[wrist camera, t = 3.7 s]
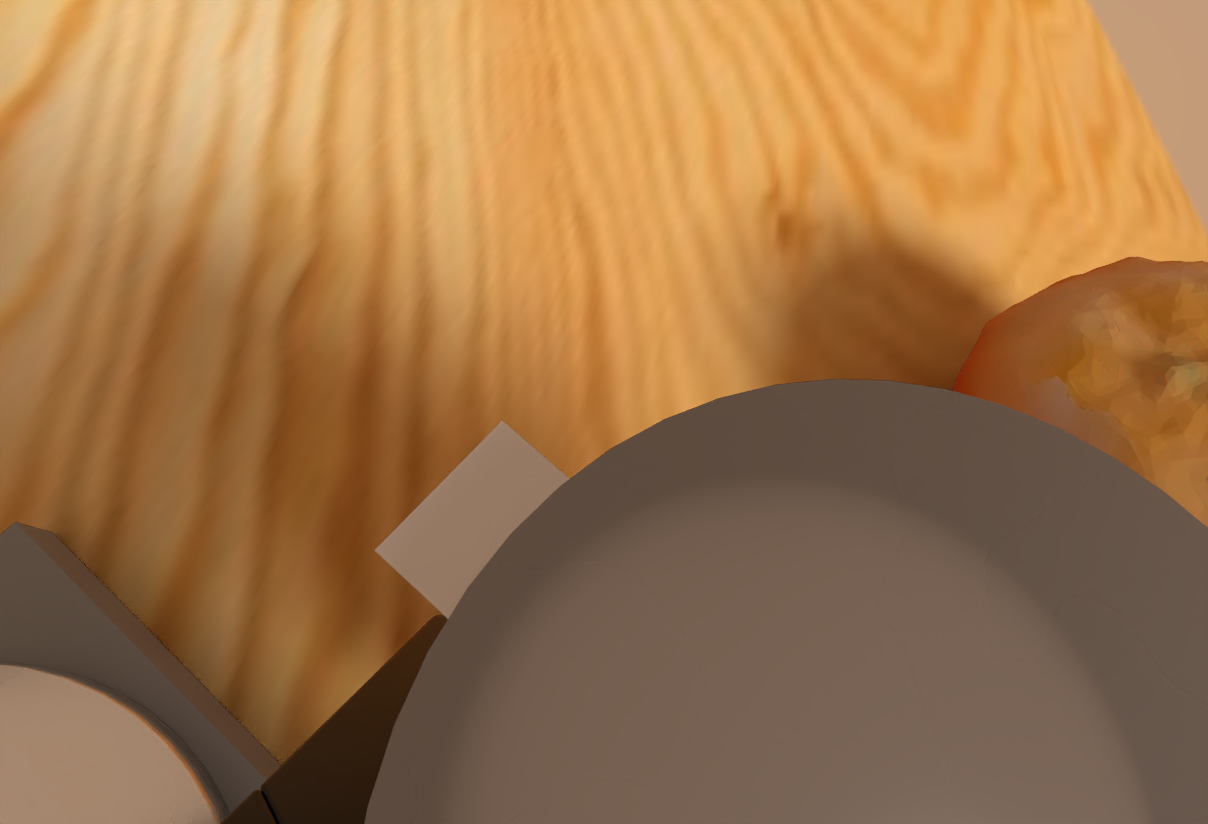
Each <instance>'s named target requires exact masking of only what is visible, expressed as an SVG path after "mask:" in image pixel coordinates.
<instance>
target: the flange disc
mask: <svg viewBox="0 0 1208 824" xmlns="http://www.w3.org/2000/svg"><path fill="white" fill-rule="evenodd" d="M229 814H230V811H229V809H228V807H227V804H226V802H225V800H224V798H223V796H222V795H221V793H220V791H219V789H218V788H217V786H216V784H215V783H214V781H213V779H212V778H211V776H210V774H209V772H208V771H207V769H206V767H205V766H204V765H203V764H202V762H201V761H200V760H199V759H198V757H197V756H196V755H195V754H194V753H193V751H192V750H191V749H190V748H189V746H188V745H187V744H186V743H185V742H184V740H183V739H182V738H181V737H180V736H179V735H178V734H177V733H176V732H174V731H173V730H172V729H171V728H170V727H169V726H168V725H167V724H165V723H164V722H163V721H162V720H161V719H160V718H159V717H158V716H156V715H155V714H154V713H153V712H151V711H150V710H148V709H147V708H145V707H144V706H142V705H140V704H139V703H137V702H136V701H134V700H133V699H131V698H129V697H128V696H126V695H125V694H123V693H122V692H119V691H117V690H115V689H112V688H110V687H108V686H106V685H103V684H101V683H99V682H96V681H94V680H92V679H89V678H87V677H83V676H80V675H76V674H72V673H68V672H65V671H61V670H57V669H53V668H49V667H41V666H32V665H24V664H16V663H0V824H220V823H221V822H222V821H223V820H224V819H225V818H226V817H227V816H228V815H229Z"/></svg>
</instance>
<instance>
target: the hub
mask: <svg viewBox="0 0 1208 824" xmlns="http://www.w3.org/2000/svg"><path fill="white" fill-rule="evenodd" d="M374 551H376V552H377V553H378V554H379V555H380V556H381V557H382V558H383V559H384V560H385V561H386V562H387V563H388V564H389V565H391V566H392V567H393V568H394V569H395V570H396V571H397V572H398V573H399V574H400V575H401V576H402V577H403V578H404V579H406V580H407V581H408V582H409V583H410V584H411V585H412V586H413V587H414V588H415V589H416V590H417V591H418V592H419V593H421V594H422V595H423V596H424V597H425V598H426V599H427V600H428V601H429V602H430V603H431V604H432V605H433V606H434V607H436V608H437V609H438V610H439V611H440V612H441V613H442V614H443V615H444V616H445V617H446V618H447V619H448V620H447V622H446V623H445V625H444V627H443V628H442V630H441V632H440V633H439V635H438V636H437V638H436V640H435V641H434V643H433V644H432V646H431V648H430V649H429V651H428V653H427V655H426V657H425V659H424V662H423V664H422V666H421V668H420V670H419V672H418V675H417V677H416V679H415V681H414V683H413V685H412V688H411V690H410V692H409V694H408V696H407V698H406V701H405V703H404V705H403V707H402V709H401V711H400V714H399V716H398V718H397V720H396V722H395V724H394V727H393V730H392V734H391V737H390V740H389V743H388V746H387V749H386V752H385V755H384V758H383V761H382V764H381V767H380V770H379V774H378V777H377V780H376V783H375V786H374V789H373V792H372V795H371V798H370V801H369V804H368V808H367V813H366V818H365V822H364V824H1208V528H1207V527H1206V526H1205V525H1204V524H1203V523H1201V522H1200V521H1199V520H1198V519H1197V518H1195V517H1194V516H1193V515H1192V514H1191V513H1189V512H1188V511H1187V510H1186V509H1185V508H1183V507H1182V506H1181V505H1180V504H1179V503H1177V502H1176V501H1175V500H1174V499H1173V498H1171V497H1170V496H1169V495H1168V494H1167V493H1165V492H1164V491H1163V490H1161V489H1160V488H1158V487H1157V486H1155V485H1154V484H1152V483H1151V482H1149V481H1148V480H1146V479H1145V478H1143V477H1142V476H1140V475H1139V474H1138V473H1136V472H1135V471H1133V470H1132V469H1130V468H1129V467H1127V466H1126V465H1124V464H1123V463H1121V462H1120V461H1118V460H1117V459H1115V458H1114V457H1112V456H1111V455H1109V454H1107V453H1105V452H1103V451H1101V450H1100V449H1098V448H1096V447H1094V446H1092V445H1090V444H1088V443H1086V442H1085V441H1083V440H1081V439H1079V438H1077V437H1075V436H1073V435H1072V434H1070V433H1068V432H1066V431H1064V430H1062V429H1060V428H1058V427H1056V426H1054V425H1051V424H1049V423H1046V422H1044V421H1041V420H1039V419H1036V418H1034V417H1032V416H1029V415H1027V414H1024V413H1022V412H1019V411H1017V410H1014V409H1012V408H1009V407H1007V406H1004V405H1002V404H998V403H994V402H991V401H987V400H984V399H980V398H976V397H973V396H969V395H965V394H962V393H958V392H955V391H951V390H947V389H942V388H936V387H929V386H922V385H916V384H909V383H902V382H896V381H889V380H853V379H827V380H817V381H807V382H797V383H788V384H778V385H772V386H768V387H764V388H760V389H755V390H751V391H747V392H743V393H739V394H734V395H730V396H726V397H722V398H718V399H716V400H713V401H710V402H708V403H705V404H703V405H700V406H698V407H695V408H692V409H690V410H687V411H685V412H682V413H679V414H677V415H674V416H672V417H669V418H666V419H664V420H662V421H660V422H658V423H657V424H655V425H653V426H651V427H649V428H648V429H646V430H644V431H642V432H640V433H638V434H637V435H635V436H633V437H631V438H629V439H627V440H626V441H624V442H622V443H620V444H618V445H617V446H615V447H613V448H611V449H610V450H608V451H607V452H606V453H604V454H603V455H602V456H600V457H599V458H597V459H596V460H595V461H593V462H592V463H591V464H589V465H588V466H587V467H585V468H584V469H583V470H581V471H580V472H579V473H577V474H576V475H574V476H573V477H572V478H570V479H569V478H568V477H567V476H566V475H565V474H564V473H562V472H561V471H560V470H559V469H558V468H557V467H556V466H554V465H553V464H552V463H551V462H550V461H549V460H547V459H546V458H545V457H544V456H543V455H542V454H541V453H539V452H538V451H537V450H536V449H535V448H534V447H532V446H531V445H530V444H529V443H528V442H527V441H526V440H524V439H523V438H522V437H521V436H520V435H519V434H518V433H516V432H515V431H514V430H513V429H512V428H511V427H509V426H508V425H507V424H506V423H505V422H504V421H503V420H502V421H501V422H500V423H499V424H498V425H497V426H496V427H495V428H494V429H493V430H492V431H491V432H490V433H489V434H488V435H487V436H486V437H485V438H484V439H483V440H482V441H481V443H480V444H479V445H478V446H477V447H476V448H475V449H474V450H473V451H472V452H471V453H470V454H469V455H468V456H467V457H466V458H465V459H464V460H463V461H462V462H461V463H460V464H459V465H458V466H457V467H456V468H455V469H454V470H453V471H452V472H451V473H450V474H449V475H448V476H447V477H446V478H445V479H444V480H443V481H442V482H441V483H440V484H439V485H438V486H437V487H436V488H435V489H434V490H433V491H432V492H431V493H430V494H429V495H428V496H427V497H426V498H425V499H424V500H423V501H422V502H421V503H420V504H419V505H418V507H417V508H416V509H415V510H414V511H413V512H412V513H411V514H410V515H409V516H408V517H407V518H406V519H405V520H404V521H403V522H402V523H401V524H400V525H399V526H398V527H397V528H396V529H395V530H394V531H393V532H392V533H391V534H390V535H389V536H388V537H387V538H386V539H385V540H384V541H383V542H382V543H381V544H380V545H379V546H378V547H377V548H376V549H375V550H374Z"/></svg>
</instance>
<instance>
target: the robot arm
mask: <svg viewBox="0 0 1208 824" xmlns="http://www.w3.org/2000/svg"><path fill="white" fill-rule="evenodd" d="M447 620H448V619H447V618H446V617H445V616H444V615H436V616H434V617H433V618H431V619H430V620H429V621H428V622H427V623H426V624H425V625H424V626H423V627H422V628H421V629H420V630H419V631H418V632H417V633H416V634H415V635H414V636H413V637H412V638H411V639H410V640H409V641H408V642H407V643H406V644H405V645H404V646H403V647H402V648H401V649H400V650H399V651H398V652H397V653H396V654H395V655H394V656H393V657H392V658H391V659H390V660H388V661H387V662H386V663H385V664H384V665H383V666H382V667H381V668H380V669H379V670H378V671H377V672H376V673H375V674H374V675H373V676H372V677H371V678H370V679H369V680H368V681H367V682H366V683H365V684H364V685H363V686H362V687H361V688H360V689H359V690H358V691H357V692H356V693H355V694H354V695H353V696H352V697H351V698H350V699H349V700H348V701H347V702H346V703H344V704H343V705H342V706H341V707H340V708H339V709H338V710H337V711H336V712H335V713H334V714H333V715H332V716H331V717H330V718H329V719H328V720H327V721H326V722H325V723H324V724H323V725H322V726H321V727H320V728H319V729H318V730H317V731H316V732H315V733H314V734H313V735H312V736H311V737H310V738H309V739H308V740H307V741H306V742H305V743H304V744H303V745H302V746H300V747H299V748H298V749H297V750H296V751H295V752H294V753H293V754H292V755H291V756H290V757H289V758H288V759H287V760H286V761H285V762H284V763H283V764H282V765H281V766H280V767H279V768H278V769H277V770H276V771H275V772H274V773H273V774H272V775H271V776H270V777H269V778H268V779H267V780H266V781H265V782H264V783H263V784H262V785H261V786H260V790H254V791H253V792H252V793H251V794H250V795H249V796H248V797H247V798H246V799H245V800H244V801H243V802H242V803H241V804H240V805H238V806H237V807H236V808H235V809H234V810H233V811H232V812H231V813H230V814H229V815H228V816H227V817H226V818H225V819H224V820H223V821H222V822H221V823H220V824H364V822H365V818H366V813H367V808H368V804H369V801H370V798H371V795H372V792H373V789H374V786H375V783H376V780H377V777H378V774H379V770H380V767H381V764H382V761H383V758H384V755H385V752H386V749H387V746H388V743H389V740H390V737H391V734H392V730H393V727H394V724H395V722H396V720H397V718H398V716H399V714H400V711H401V709H402V707H403V705H404V703H405V701H406V698H407V696H408V694H409V692H410V690H411V688H412V685H413V683H414V681H415V679H416V677H417V675H418V672H419V670H420V668H421V666H422V664H423V662H424V659H425V657H426V655H427V653H428V651H429V649H430V648H431V646H432V644H433V643H434V641H435V640H436V638H437V636H438V635H439V633H440V632H441V630H442V628H443V627H444V625H445V623H446V622H447Z"/></svg>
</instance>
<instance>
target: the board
mask: <svg viewBox="0 0 1208 824" xmlns="http://www.w3.org/2000/svg"><path fill="white" fill-rule="evenodd" d="M0 663H16V664H24V665H32V666H41V667H49V668H53V669H57V670H61V671H65V672H68V673H72V674H76V675H80V676H83V677H87V678H89V679H92V680H94V681H96V682H99V683H101V684H103V685H106V686H108V687H110V688H112V689H115V690H117V691H119V692H122V693H123V694H125V695H126V696H128V697H129V698H131V699H133V700H134V701H136V702H137V703H139V704H140V705H142V706H144V707H145V708H147V709H148V710H150V711H151V712H153V713H154V714H155V715H156V716H158V717H159V718H160V719H161V720H162V721H163V722H164V723H165V724H167V725H168V726H169V727H170V728H171V729H172V730H173V731H174V732H176V733H177V734H178V735H179V736H180V737H181V738H182V739H183V740H184V742H185V743H186V744H187V745H188V746H189V748H190V749H191V750H192V751H193V753H194V754H195V755H196V756H197V757H198V759H199V760H200V761H201V762H202V764H203V765H204V766H205V767H206V769H207V771H208V772H209V774H210V776H211V778H212V779H213V781H214V783H215V784H216V786H217V788H218V789H219V791H220V793H221V795H222V796H223V798H224V800H225V802H226V804H227V807H228V809H229V811H230V813H231V812H232V811H233V810H234V809H235V808H236V807H237V806H238V805H240V804H241V803H242V802H243V801H244V800H245V799H246V798H247V797H248V796H249V795H250V794H251V793H252V792H253V791H254V790H260V786H261V785H262V784H263V783H264V782H265V781H266V780H267V779H268V778H269V777H270V776H271V775H272V774H273V773H274V772H275V771H276V770H277V769H278V768H279V767H280V766H281V764H280V763H279V762H278V761H277V760H276V759H275V758H274V757H273V756H272V755H271V754H270V753H269V752H268V751H267V750H266V749H265V748H264V747H263V746H262V745H261V744H260V743H259V742H258V741H257V740H256V739H255V738H254V737H253V736H252V735H251V734H250V733H249V732H248V731H247V730H246V729H245V728H244V727H243V726H242V725H241V724H240V723H239V722H238V720H237V719H236V718H235V717H234V716H233V715H232V714H231V713H230V712H229V711H228V710H227V709H226V708H225V707H224V706H223V705H222V704H221V703H220V702H219V701H218V700H217V699H216V698H215V697H214V696H213V695H212V694H211V693H210V692H209V691H208V690H207V689H206V688H205V687H204V686H203V685H202V684H201V683H200V682H199V681H198V680H197V679H196V678H195V677H194V676H193V675H192V674H191V673H190V672H189V671H188V670H187V669H186V668H185V666H184V665H183V664H182V663H181V662H180V661H179V660H178V659H177V658H176V657H175V656H174V655H173V654H172V653H171V652H170V651H169V650H168V649H167V648H166V647H165V646H164V645H163V644H162V643H161V642H160V641H159V640H158V639H157V638H156V637H155V636H154V635H153V634H152V633H151V632H150V631H149V630H148V629H147V628H146V627H145V626H144V625H143V624H142V623H141V622H140V621H139V620H138V619H137V618H136V617H135V616H134V615H133V614H132V612H131V611H130V610H129V609H128V608H127V607H126V606H125V605H124V604H123V603H122V602H121V601H120V600H119V599H118V598H117V597H116V596H115V595H114V594H113V593H112V592H111V591H110V590H109V589H108V588H107V587H106V586H105V585H104V584H103V583H102V582H101V581H100V580H99V579H98V578H97V577H96V576H95V575H94V574H93V573H92V572H91V571H90V570H89V569H88V568H87V567H86V566H85V565H84V564H83V563H82V562H81V561H80V560H79V558H78V557H77V556H76V555H75V554H74V553H73V552H72V551H71V550H70V549H69V548H68V547H67V546H66V545H65V544H64V543H63V542H62V541H61V540H60V539H59V538H58V537H57V536H56V535H55V534H54V533H53V532H50V531H46V530H43V529H39V528H35V527H32V526H28V525H24V524H21V523H17V522H15V523H14V524H12V525H11V526H10V527H9V528H7V529H6V530H5V531H4V532H3V533H1V534H0Z"/></svg>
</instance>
